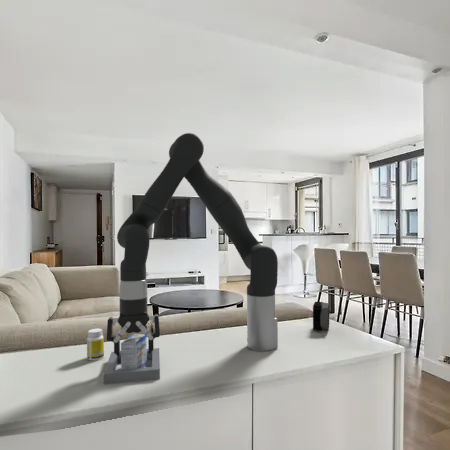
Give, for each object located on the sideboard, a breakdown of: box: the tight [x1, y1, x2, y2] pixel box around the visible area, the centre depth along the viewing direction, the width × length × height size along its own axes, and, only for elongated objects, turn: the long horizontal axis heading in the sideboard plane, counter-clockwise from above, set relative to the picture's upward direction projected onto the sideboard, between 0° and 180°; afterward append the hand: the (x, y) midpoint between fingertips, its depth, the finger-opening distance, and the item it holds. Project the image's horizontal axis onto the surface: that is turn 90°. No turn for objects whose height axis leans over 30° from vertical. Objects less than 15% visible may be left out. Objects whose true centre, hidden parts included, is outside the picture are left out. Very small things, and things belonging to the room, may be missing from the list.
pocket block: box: [102, 347, 161, 385], centre depth 96 cm, size 14×16×2 cm
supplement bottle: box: [86, 328, 105, 362], centre depth 104 cm, size 5×5×8 cm
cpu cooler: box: [312, 301, 330, 332], centre depth 131 cm, size 10×6×10 cm, turn 159°
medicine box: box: [120, 333, 148, 370], centre depth 96 cm, size 8×4×9 cm, turn 173°
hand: (134, 353), depth 96 cm, fingers open, 8 cm apart
